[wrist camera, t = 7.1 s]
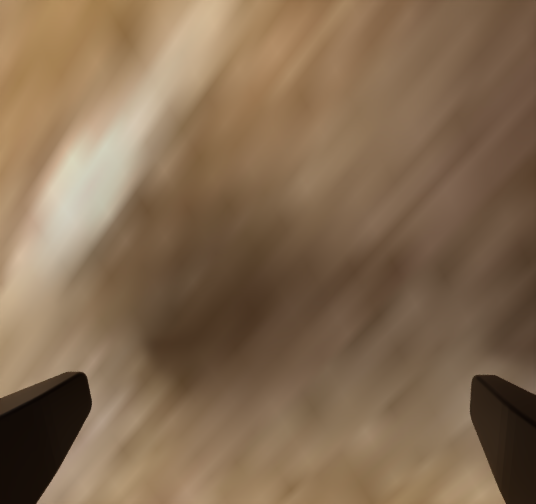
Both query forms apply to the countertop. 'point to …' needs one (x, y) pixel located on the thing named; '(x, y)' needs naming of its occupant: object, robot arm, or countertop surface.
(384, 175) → the countertop surface
